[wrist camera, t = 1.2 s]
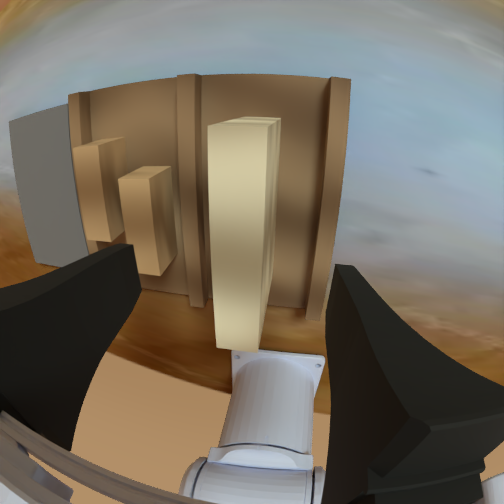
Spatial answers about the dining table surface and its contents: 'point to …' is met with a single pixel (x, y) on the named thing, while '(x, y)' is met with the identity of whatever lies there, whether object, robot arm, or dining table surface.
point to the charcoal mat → (48, 186)
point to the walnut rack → (196, 168)
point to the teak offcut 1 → (101, 186)
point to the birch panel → (242, 225)
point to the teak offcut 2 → (149, 217)
